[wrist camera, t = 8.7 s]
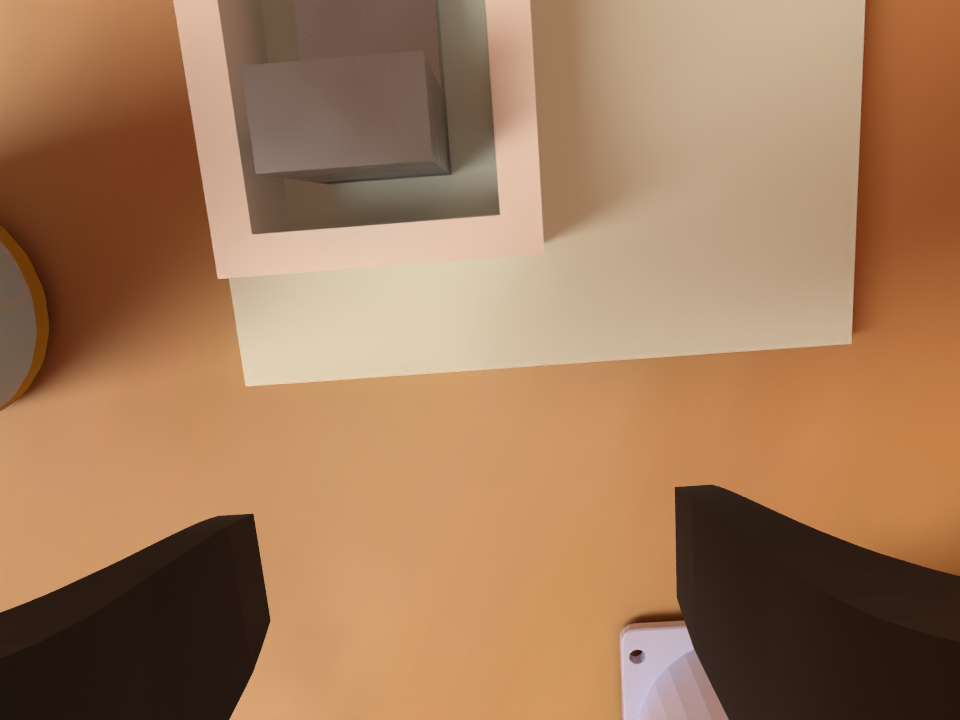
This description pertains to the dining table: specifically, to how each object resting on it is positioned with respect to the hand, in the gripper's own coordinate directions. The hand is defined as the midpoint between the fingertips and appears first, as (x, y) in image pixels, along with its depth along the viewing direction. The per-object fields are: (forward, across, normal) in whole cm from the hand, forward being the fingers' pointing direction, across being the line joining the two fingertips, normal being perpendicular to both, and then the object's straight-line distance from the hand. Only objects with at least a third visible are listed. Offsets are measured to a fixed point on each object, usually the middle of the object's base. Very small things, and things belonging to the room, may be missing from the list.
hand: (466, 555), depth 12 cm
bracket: (+9, +2, -9) cm, 13 cm away
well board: (+10, -2, -8) cm, 13 cm away
